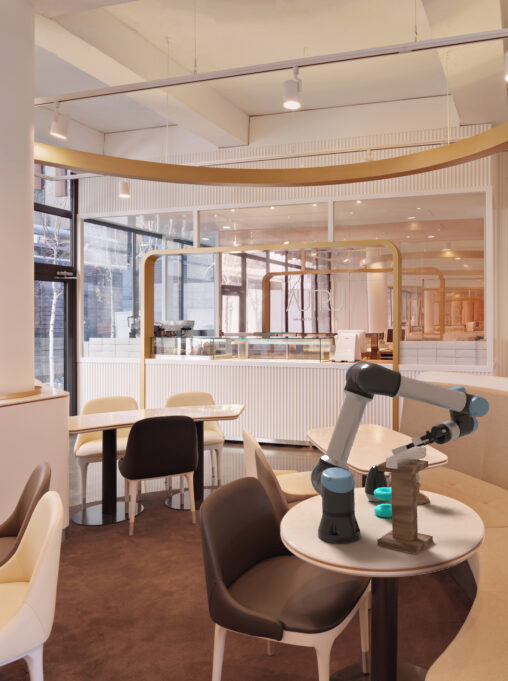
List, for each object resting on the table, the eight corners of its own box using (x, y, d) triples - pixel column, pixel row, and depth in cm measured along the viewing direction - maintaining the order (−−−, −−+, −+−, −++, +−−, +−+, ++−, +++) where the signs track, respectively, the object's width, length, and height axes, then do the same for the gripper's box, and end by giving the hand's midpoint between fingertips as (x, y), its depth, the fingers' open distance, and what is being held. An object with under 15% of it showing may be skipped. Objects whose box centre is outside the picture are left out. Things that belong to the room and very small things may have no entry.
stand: (416, 554, 188) (414, 469, 188) (377, 545, 197) (375, 464, 197) (432, 541, 199) (431, 461, 199) (395, 533, 208) (393, 456, 208)
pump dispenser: (379, 505, 241) (379, 469, 241) (360, 500, 249) (359, 465, 249) (394, 500, 248) (393, 465, 248) (374, 495, 256) (373, 461, 256)
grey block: (397, 468, 189) (397, 459, 189) (386, 467, 192) (385, 458, 192) (426, 455, 208) (426, 447, 208) (415, 454, 211) (415, 446, 210)
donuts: (369, 487, 233) (392, 485, 235) (370, 512, 233) (392, 509, 235) (380, 494, 223) (404, 492, 226) (381, 519, 223) (404, 517, 226)
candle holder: (408, 506, 240) (407, 458, 239) (394, 497, 252) (393, 452, 251) (434, 503, 243) (433, 455, 242) (419, 495, 255) (418, 450, 254)
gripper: (469, 431, 211) (427, 447, 201) (430, 451, 231) (390, 466, 222) (459, 412, 213) (417, 427, 204) (421, 433, 234) (381, 448, 224)
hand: (403, 447), depth 213 cm, fingers open, 13 cm apart
